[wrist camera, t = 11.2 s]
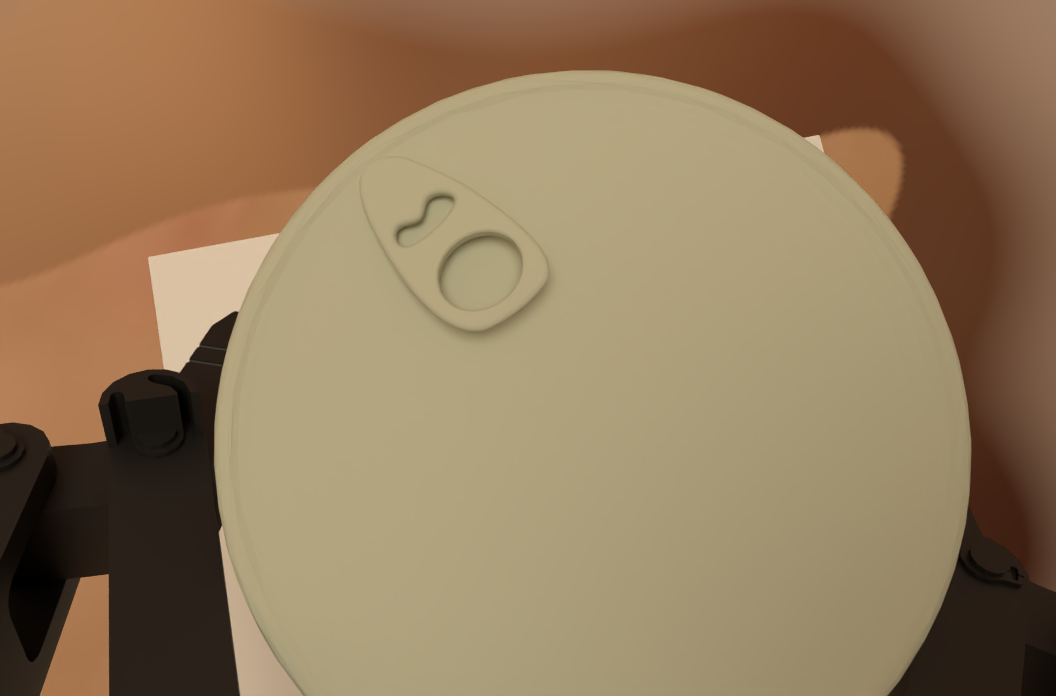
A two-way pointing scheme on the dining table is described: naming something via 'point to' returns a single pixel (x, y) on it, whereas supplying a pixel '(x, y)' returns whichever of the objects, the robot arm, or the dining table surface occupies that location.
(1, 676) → the robot arm
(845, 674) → the can
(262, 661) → the card
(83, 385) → the dining table surface
